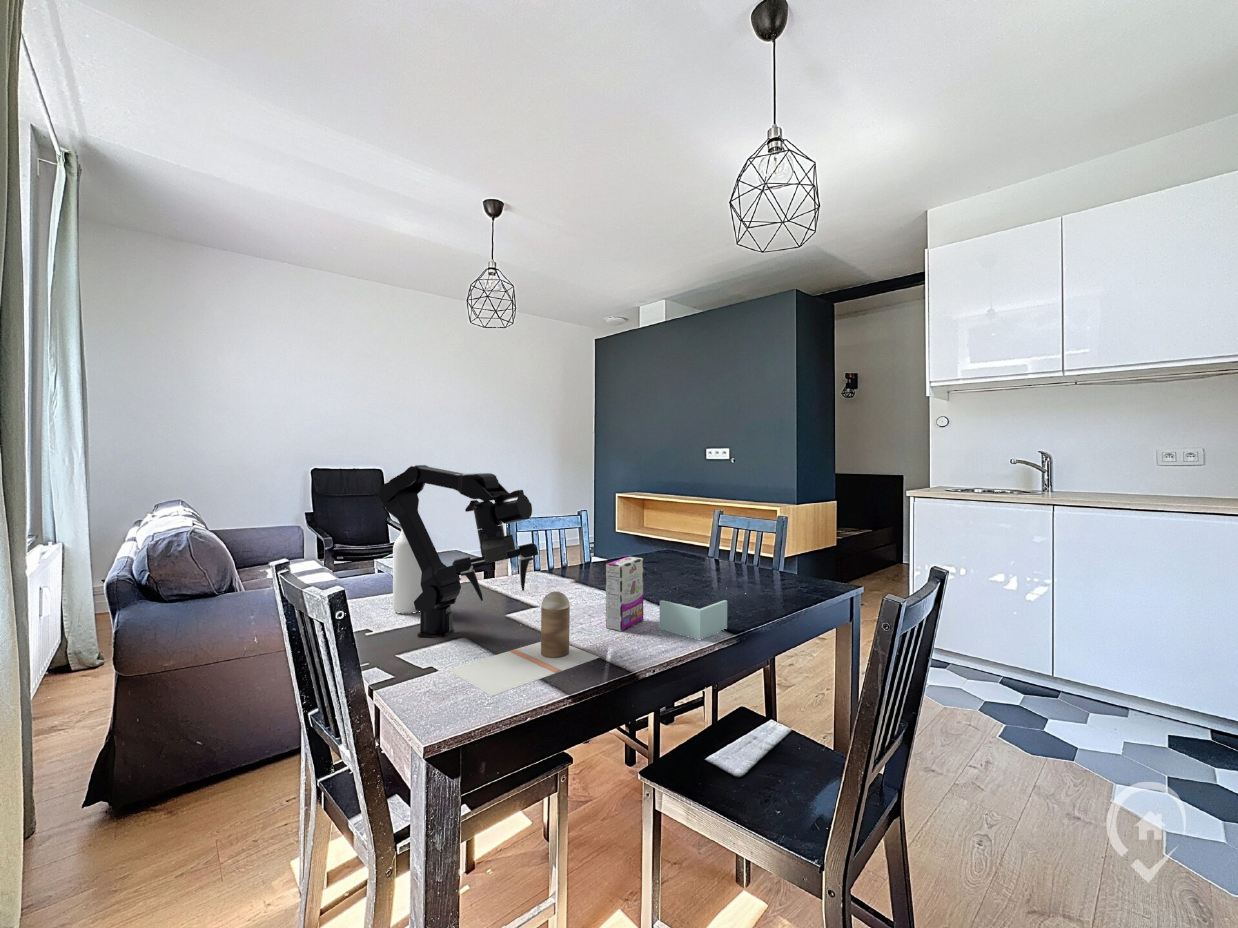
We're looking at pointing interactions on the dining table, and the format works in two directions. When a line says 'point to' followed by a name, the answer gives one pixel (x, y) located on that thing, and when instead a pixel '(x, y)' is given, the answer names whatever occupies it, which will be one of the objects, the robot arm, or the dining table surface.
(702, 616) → the right angle wall
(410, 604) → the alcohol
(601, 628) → the dining table surface
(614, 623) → the candy bar box
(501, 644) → the dining table surface
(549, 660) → the mat
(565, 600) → the walnut pin
